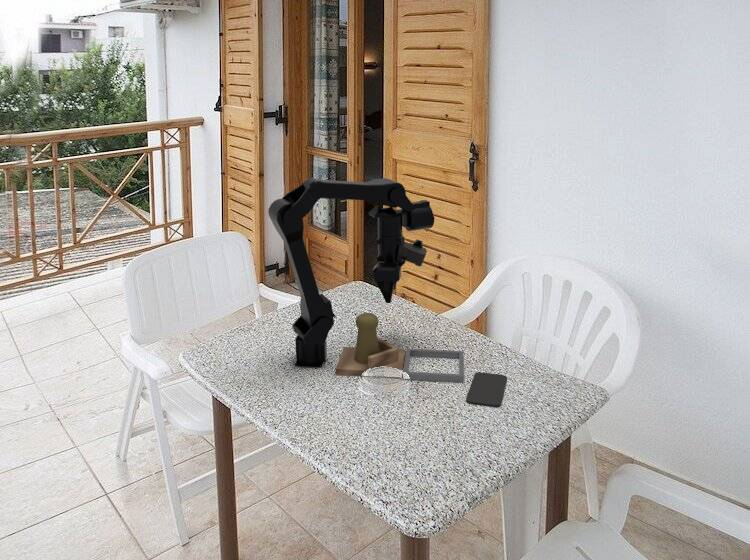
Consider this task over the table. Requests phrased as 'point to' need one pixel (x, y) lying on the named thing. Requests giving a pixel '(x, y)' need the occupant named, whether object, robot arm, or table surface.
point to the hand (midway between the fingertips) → (390, 296)
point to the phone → (487, 389)
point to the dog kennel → (371, 359)
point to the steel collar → (435, 376)
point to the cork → (366, 337)
